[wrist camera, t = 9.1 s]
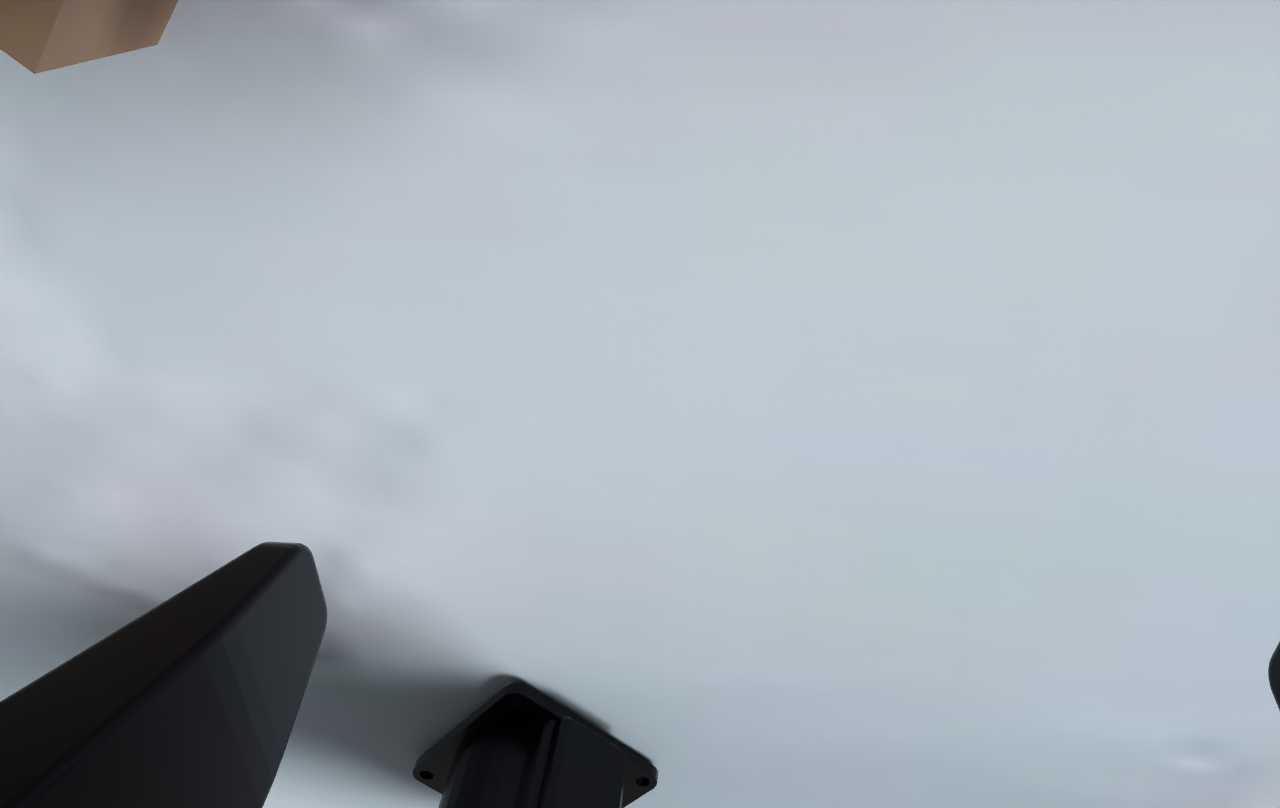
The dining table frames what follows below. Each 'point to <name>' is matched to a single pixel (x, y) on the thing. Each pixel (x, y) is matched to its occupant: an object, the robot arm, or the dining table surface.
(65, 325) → the dining table surface
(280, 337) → the dining table surface
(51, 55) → the walnut base block
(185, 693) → the robot arm
